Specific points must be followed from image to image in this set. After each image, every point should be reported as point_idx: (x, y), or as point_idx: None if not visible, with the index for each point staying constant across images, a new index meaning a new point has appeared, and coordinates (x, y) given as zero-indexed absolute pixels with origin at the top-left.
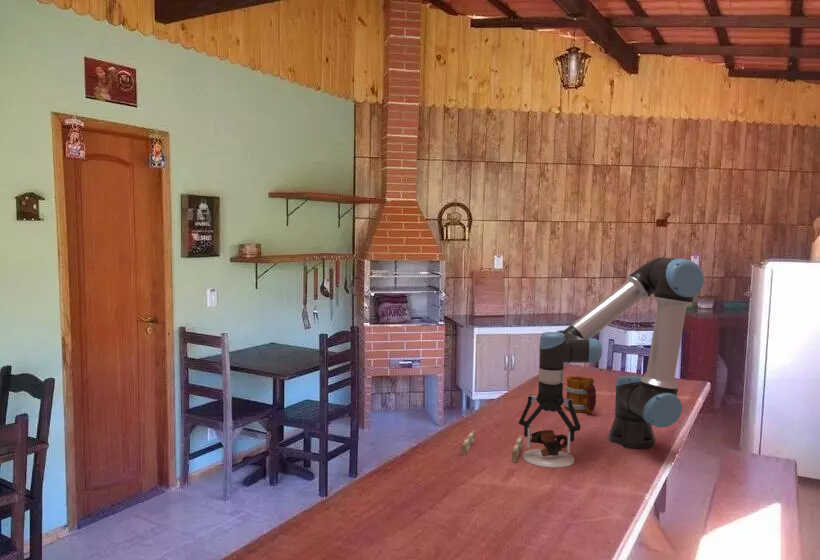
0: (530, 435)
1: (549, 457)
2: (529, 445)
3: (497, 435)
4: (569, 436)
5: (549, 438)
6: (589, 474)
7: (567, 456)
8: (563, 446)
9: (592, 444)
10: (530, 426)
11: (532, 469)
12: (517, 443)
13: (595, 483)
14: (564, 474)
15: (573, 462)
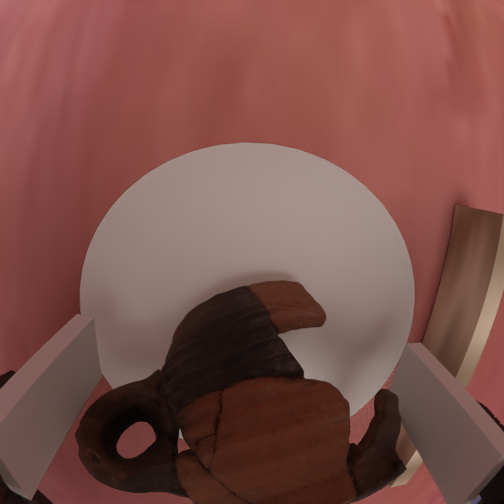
0: (431, 434)
1: None
2: (416, 352)
3: (430, 485)
4: (1, 397)
5: (250, 427)
6: (16, 111)
7: (127, 370)
8: (122, 388)
9: (75, 486)
10: (472, 493)
11: (364, 90)
12: (463, 378)
13: (23, 13)
14: (147, 48)
15: (82, 278)
